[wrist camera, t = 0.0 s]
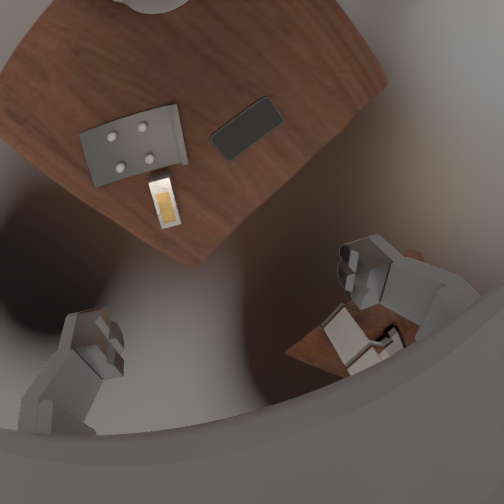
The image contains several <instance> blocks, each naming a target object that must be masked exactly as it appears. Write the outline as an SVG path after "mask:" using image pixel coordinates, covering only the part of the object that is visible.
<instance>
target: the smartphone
mask: <svg viewBox="0 0 504 504" xmlns="http://www.w3.org/2000/svg"><path fill="white" fill-rule="evenodd" d="M283 123H284V119H283V117H282V115H281V114H280V112H279V111H278V109H277V108H276V106H275V105H274V103H273V102H272V101H271V99H270V98H269V97H267V96H265V97H262V98H261V99H259V100H257V101H256V102H254V103H253V104H252V105H250V106H249V107H247V108H246V109H245V110H244V111H242V112H241V113H240V114H238V115H237V116H235V117H234V118H233V119H231V120H230V121H229V122H227V123H226V124H225V125H223V126H222V127H221V128H220V129H218V130H217V131H216V132H214V133H213V134H212V135H211V136H210V141H211V143H212V144H213V145H214V146H215V148H216V149H217V150H218V151H219V152H220V153H221V155H222V156H223V157H224V158H225V159H226V160H227V161H229V162H231V161H233V160H234V159H236V158H237V157H238V156H239V155H241V154H242V153H243V152H245V151H246V150H247V149H249V148H250V147H251V146H253V145H254V144H255V143H257V142H258V141H259V140H261V139H262V138H264V137H265V136H266V135H268V134H270V133H271V132H272V131H273V130H275V129H276V128H278V127H279V126H280V125H282V124H283Z"/></svg>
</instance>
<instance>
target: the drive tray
mask: <svg viewBox="0 0 504 504" xmlns="http://www.w3.org/2000/svg"><path fill="white" fill-rule="evenodd" d="M79 136H80V140H81V143H82V147H83V151H84V154H85V158H86V161H87V164H88V167H89V171H90V174H91V177H92V180H93V183H94V186H95V188H97V187H100V186H103V185H105V184H108V183H112V182H115V181H118V180H121V179H124V178H127V177H130V176H134V175H137V174H141V173H144V172H147V171H151V170H155V169H158V168H162V167H166V166H170V165H173V164H177V163H182V166H183V165H187V164H188V159H187V154H186V149H185V144H184V139H183V134H182V129H181V123H180V118H179V113H178V107H177V103H175V104H170V105H166V106H162V107H158V108H154V109H151V110H147V111H143V112H140V113H137V114H133V115H130V116H127V117H124V118H120V119H117V120H114V121H111V122H109V123H106V124H103V125H100V126H97V127H95V128H92V129H89V130H87V131H84V132H82V133H80V134H79Z"/></svg>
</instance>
